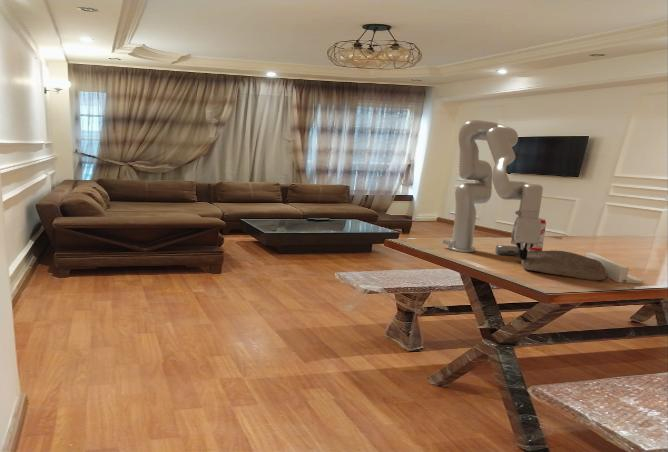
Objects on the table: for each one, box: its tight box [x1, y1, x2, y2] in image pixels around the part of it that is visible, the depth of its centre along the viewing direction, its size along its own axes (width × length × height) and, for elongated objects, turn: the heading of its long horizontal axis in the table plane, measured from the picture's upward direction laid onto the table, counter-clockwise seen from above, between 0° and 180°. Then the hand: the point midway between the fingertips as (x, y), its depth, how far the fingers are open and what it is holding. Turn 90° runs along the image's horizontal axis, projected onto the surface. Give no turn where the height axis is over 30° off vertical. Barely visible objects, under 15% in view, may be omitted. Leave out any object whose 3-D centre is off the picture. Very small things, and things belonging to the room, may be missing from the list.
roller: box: [495, 244, 519, 257], centre depth 209 cm, size 10×4×4 cm
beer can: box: [528, 218, 547, 251], centre depth 221 cm, size 6×6×16 cm
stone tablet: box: [520, 250, 607, 281], centre depth 184 cm, size 20×8×30 cm
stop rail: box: [585, 252, 644, 285], centre depth 185 cm, size 10×24×6 cm, turn 0°
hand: (522, 258), depth 184 cm, fingers closed
